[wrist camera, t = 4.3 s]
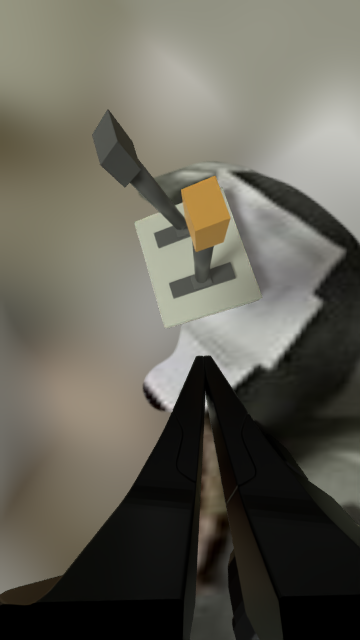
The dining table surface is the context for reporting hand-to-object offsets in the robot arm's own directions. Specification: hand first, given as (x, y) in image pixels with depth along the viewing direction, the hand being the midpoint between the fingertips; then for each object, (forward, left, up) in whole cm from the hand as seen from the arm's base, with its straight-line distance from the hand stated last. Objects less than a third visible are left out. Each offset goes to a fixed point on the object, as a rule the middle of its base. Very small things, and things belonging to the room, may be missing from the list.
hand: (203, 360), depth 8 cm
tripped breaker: (+6, +5, -10) cm, 13 cm away
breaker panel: (+8, +8, -13) cm, 17 cm away
